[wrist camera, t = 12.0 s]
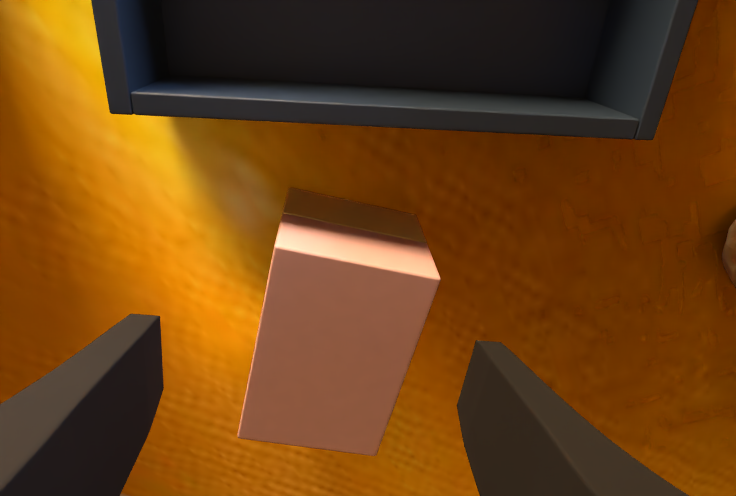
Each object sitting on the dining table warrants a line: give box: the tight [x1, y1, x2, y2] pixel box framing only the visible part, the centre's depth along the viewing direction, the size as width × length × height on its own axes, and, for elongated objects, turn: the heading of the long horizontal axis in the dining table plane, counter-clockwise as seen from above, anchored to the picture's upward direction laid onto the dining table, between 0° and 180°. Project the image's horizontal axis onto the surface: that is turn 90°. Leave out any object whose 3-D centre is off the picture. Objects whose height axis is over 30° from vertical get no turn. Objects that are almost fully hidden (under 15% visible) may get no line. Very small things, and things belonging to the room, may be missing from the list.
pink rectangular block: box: [237, 187, 441, 456], centre depth 18 cm, size 5×8×5 cm, turn 166°
